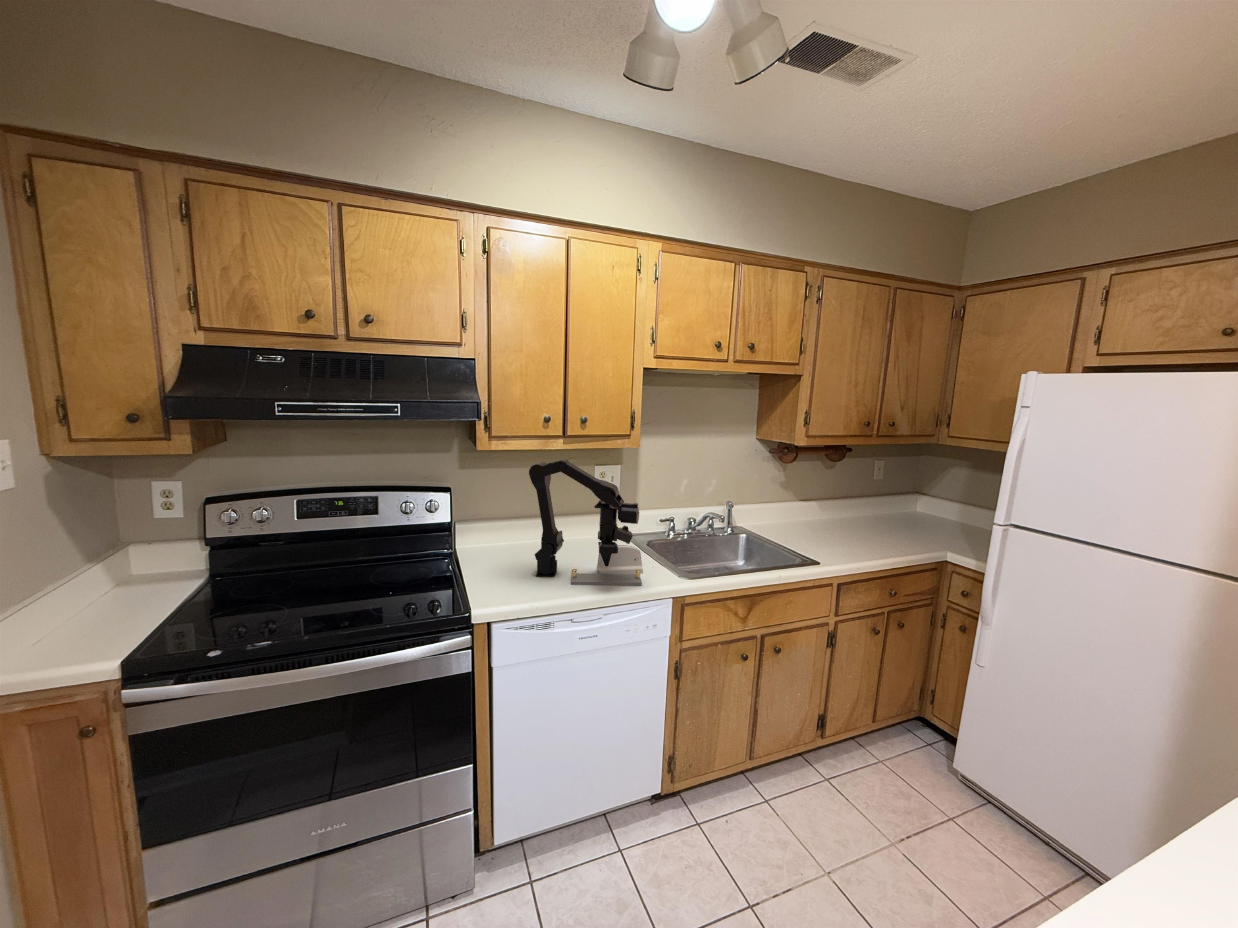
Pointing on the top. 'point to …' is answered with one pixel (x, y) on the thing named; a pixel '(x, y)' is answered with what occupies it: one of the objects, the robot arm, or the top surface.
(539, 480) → the robot arm
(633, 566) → the curved beige panel
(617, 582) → the plate
